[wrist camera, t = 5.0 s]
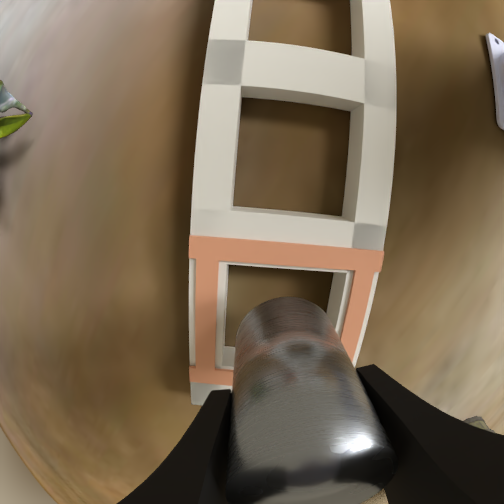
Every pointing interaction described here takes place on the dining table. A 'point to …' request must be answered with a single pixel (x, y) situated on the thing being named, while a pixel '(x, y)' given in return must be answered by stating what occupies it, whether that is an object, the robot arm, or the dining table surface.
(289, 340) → the metal peg
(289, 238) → the hole rail
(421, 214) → the dining table surface
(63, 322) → the dining table surface
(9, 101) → the passion flower
